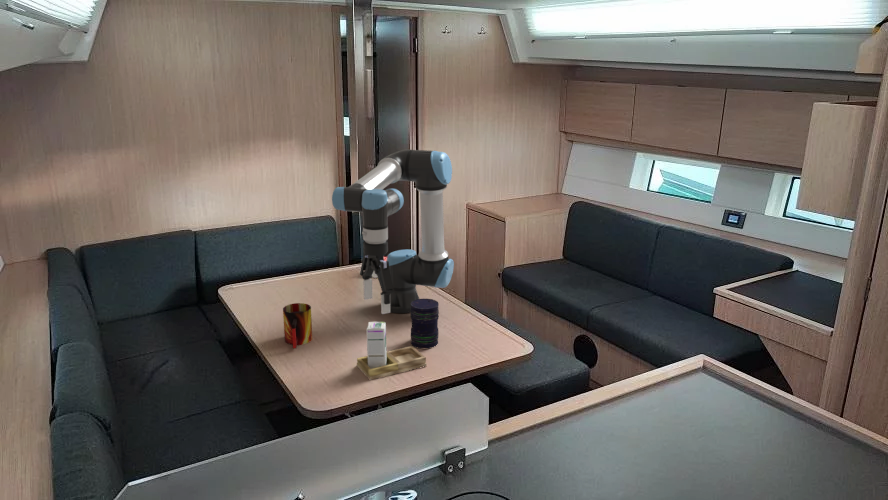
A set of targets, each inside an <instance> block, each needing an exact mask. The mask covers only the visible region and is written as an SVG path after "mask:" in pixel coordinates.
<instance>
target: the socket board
mask: <svg viewBox="0 0 888 500" xmlns="http://www.w3.org/2000/svg"><path fill="white" fill-rule="evenodd" d="M356 361H357V362H356V367H357V368H358V369H359V370H360V371H361V373H363V374H364V376H365V377H367V378H368V380H369V381H373V380H376V379H377V380H378V379H381V378H384V377H385V378H386V377H389V376H393V375H397V374H402V373H404V372H405V373H406V372H410V371H412V369H414V370H417V369H416V368H418V369H421V368H420V367H422V368H424V367H423V366H426V367H427V357H426V356H425V355H424V354H422V353H421V352H420V351H419V350H417V348H416V347H414V346H412V345H410V346H405V347H401V348H397V349H393V350H388V351H387V365H385V366H381V367H377V368H372V369H371V368H370V367H369V366H368V355H365V356H361V357H357V358H356ZM409 370H410V371H409Z"/></svg>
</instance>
